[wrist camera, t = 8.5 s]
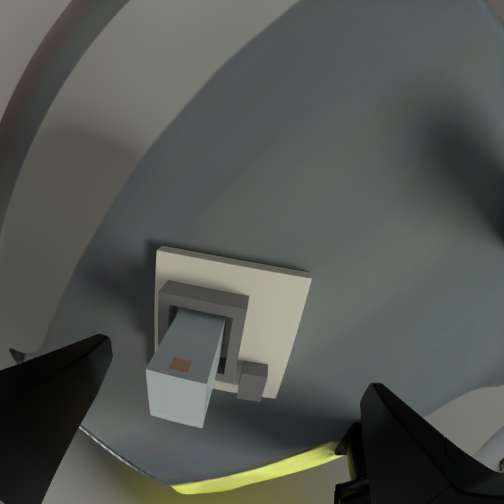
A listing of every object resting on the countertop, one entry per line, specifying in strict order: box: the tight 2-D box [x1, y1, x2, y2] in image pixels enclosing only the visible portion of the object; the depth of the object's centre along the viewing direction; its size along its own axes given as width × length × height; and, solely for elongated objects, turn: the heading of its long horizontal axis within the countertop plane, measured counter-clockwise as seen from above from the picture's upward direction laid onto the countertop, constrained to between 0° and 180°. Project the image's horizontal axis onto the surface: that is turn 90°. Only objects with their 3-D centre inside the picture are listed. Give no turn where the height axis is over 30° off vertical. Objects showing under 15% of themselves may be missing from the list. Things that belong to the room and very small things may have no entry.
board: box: [155, 246, 312, 402], centre depth 21 cm, size 12×11×3 cm
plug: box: [146, 307, 227, 428], centre depth 17 cm, size 4×3×8 cm
